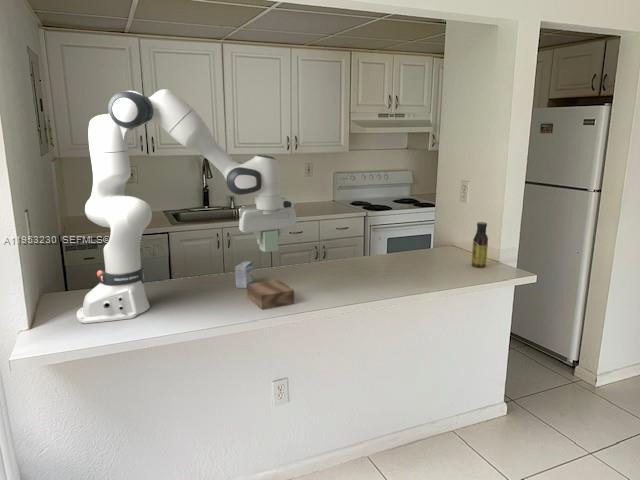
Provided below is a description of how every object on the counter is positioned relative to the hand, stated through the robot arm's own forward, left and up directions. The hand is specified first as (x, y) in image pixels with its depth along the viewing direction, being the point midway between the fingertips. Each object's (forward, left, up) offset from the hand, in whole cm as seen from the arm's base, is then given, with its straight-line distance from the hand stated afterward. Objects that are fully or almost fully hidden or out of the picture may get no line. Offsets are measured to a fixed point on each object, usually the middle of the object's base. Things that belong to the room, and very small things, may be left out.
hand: (268, 242), depth 165 cm
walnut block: (0, 0, -21) cm, 21 cm away
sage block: (0, 0, -3) cm, 3 cm away
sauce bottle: (+99, -4, -22) cm, 101 cm away
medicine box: (-2, +21, -22) cm, 30 cm away
